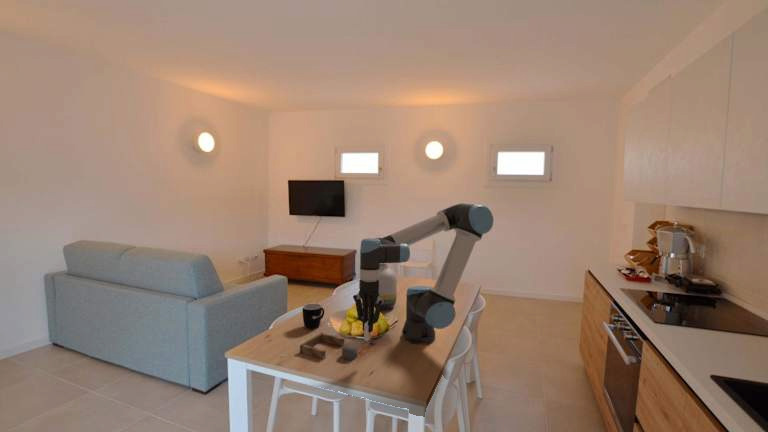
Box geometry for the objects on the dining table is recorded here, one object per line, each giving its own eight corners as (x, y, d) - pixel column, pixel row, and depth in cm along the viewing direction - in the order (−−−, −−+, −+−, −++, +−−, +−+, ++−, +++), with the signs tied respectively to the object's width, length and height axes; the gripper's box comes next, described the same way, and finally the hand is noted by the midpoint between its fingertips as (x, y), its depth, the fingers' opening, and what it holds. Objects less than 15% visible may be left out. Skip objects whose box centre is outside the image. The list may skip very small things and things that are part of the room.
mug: (311, 332, 165) (311, 310, 164) (298, 327, 171) (298, 306, 170) (330, 324, 175) (330, 304, 174) (317, 320, 180) (317, 300, 179)
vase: (391, 313, 192) (392, 269, 190) (361, 309, 197) (362, 266, 195) (400, 303, 208) (401, 263, 206) (372, 300, 213) (373, 260, 211)
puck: (360, 355, 144) (360, 346, 144) (351, 361, 139) (352, 352, 138) (347, 351, 147) (347, 343, 146) (339, 357, 141) (339, 349, 141)
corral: (344, 345, 152) (344, 338, 152) (323, 359, 140) (323, 351, 139) (321, 339, 158) (321, 332, 158) (300, 352, 145) (300, 345, 145)
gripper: (389, 279, 137) (386, 339, 138) (359, 275, 142) (358, 332, 144) (379, 284, 130) (377, 347, 132) (349, 278, 136) (347, 339, 138)
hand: (367, 339), depth 138 cm, fingers closed
